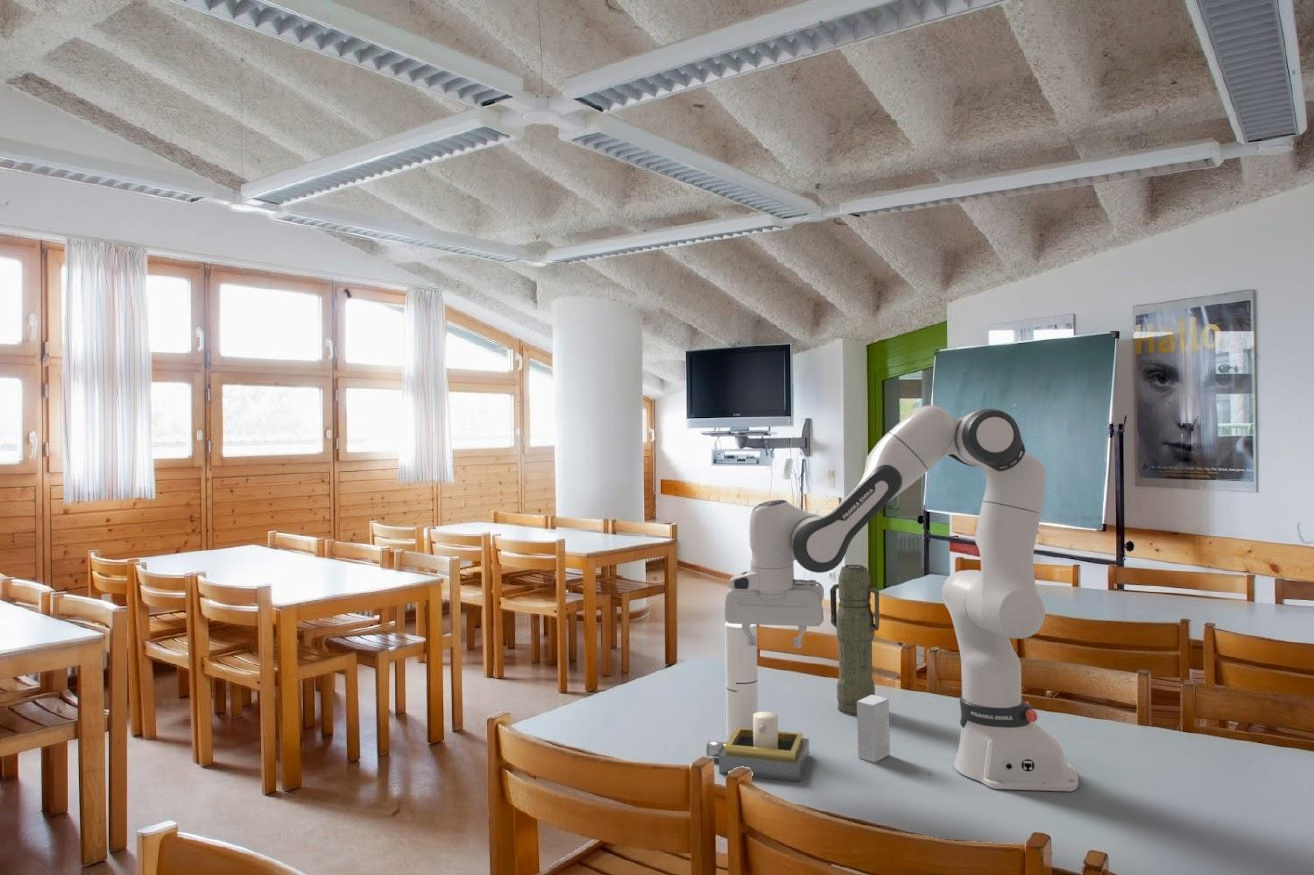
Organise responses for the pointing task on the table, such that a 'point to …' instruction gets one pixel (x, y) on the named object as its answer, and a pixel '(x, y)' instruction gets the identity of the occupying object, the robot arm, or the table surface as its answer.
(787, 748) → the box
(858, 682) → the thermos
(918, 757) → the table surface
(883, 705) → the skincare box
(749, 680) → the cylindrical container
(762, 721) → the spout can
